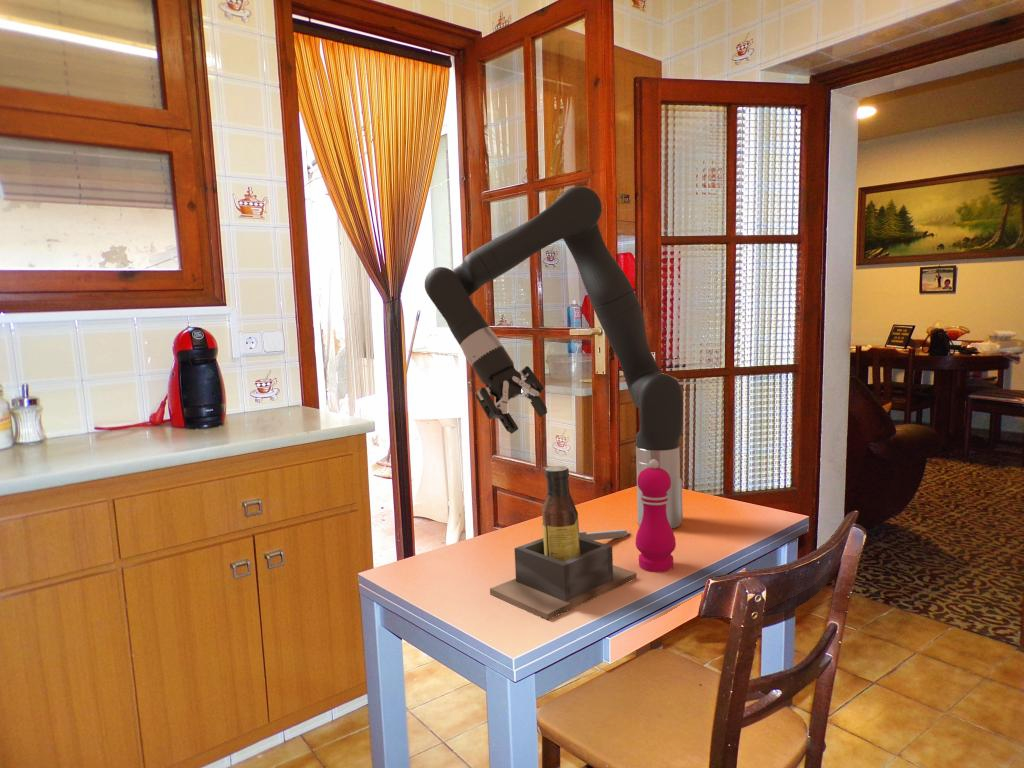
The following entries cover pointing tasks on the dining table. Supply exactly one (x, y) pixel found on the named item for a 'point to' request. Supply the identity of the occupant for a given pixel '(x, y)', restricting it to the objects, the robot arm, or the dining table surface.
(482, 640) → the dining table surface
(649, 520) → the pepper mill
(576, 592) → the bottle caddy
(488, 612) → the dining table surface
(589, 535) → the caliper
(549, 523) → the sauce bottle
